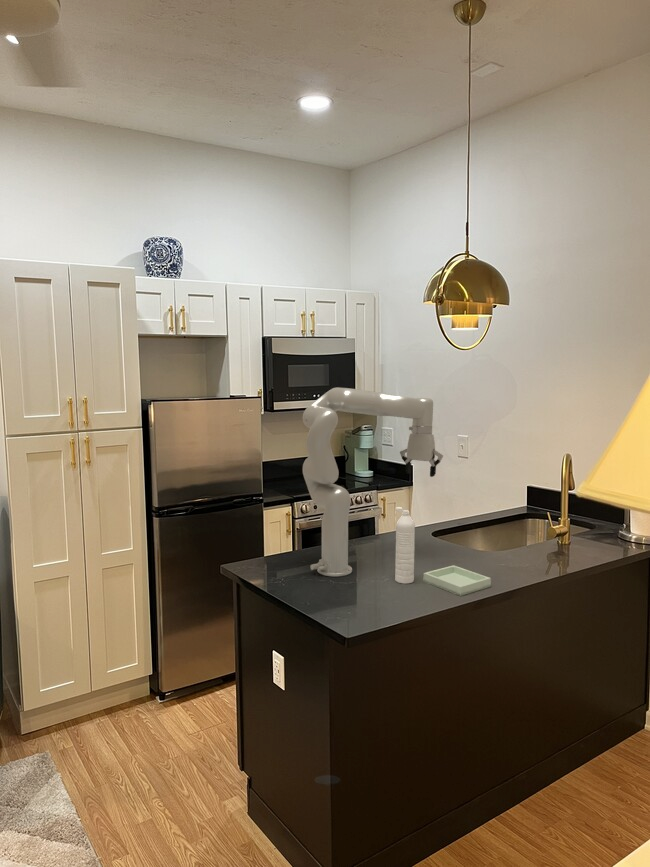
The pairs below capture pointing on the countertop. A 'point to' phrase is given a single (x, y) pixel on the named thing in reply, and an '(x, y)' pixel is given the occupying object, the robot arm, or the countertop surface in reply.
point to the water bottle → (404, 548)
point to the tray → (457, 580)
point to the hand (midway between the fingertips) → (420, 474)
